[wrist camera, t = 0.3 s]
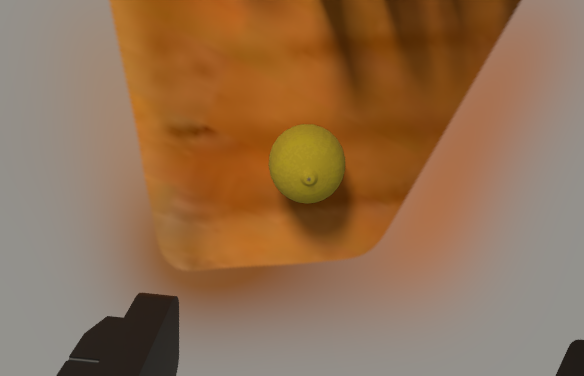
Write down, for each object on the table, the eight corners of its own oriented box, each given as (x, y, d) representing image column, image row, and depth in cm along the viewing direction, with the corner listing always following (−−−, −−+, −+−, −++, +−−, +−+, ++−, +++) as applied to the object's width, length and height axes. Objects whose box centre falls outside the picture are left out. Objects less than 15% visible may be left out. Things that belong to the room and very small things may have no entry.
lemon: (304, 101, 35) (309, 118, 27) (353, 149, 36) (370, 179, 29) (256, 150, 36) (248, 180, 29) (304, 195, 37) (309, 235, 30)
